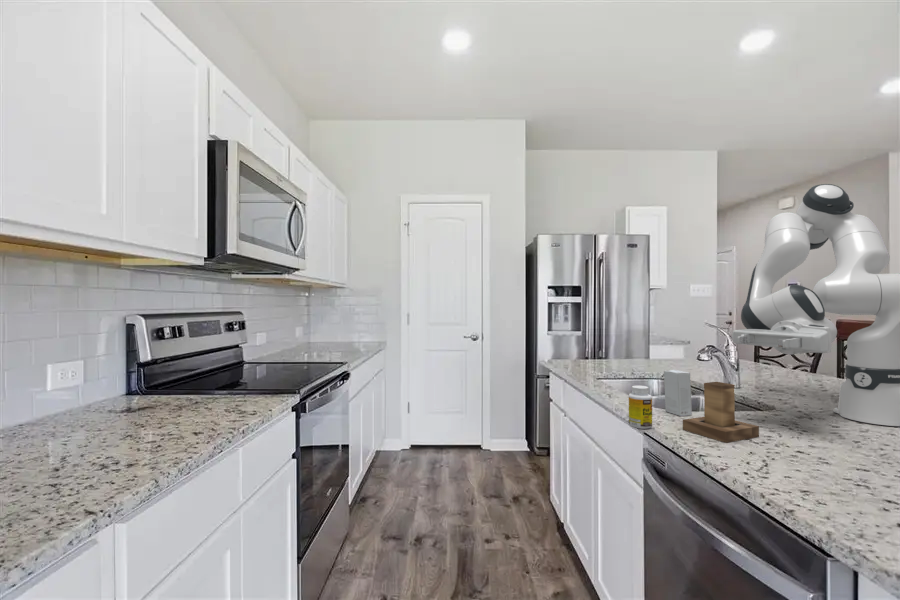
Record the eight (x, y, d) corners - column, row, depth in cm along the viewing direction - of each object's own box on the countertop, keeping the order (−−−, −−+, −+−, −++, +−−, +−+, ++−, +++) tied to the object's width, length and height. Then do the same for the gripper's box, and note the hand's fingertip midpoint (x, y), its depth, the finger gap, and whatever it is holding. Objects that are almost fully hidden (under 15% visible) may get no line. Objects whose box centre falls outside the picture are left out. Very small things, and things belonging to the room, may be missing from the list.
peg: (717, 429, 111) (716, 381, 111) (735, 434, 106) (734, 384, 106) (704, 431, 109) (703, 382, 109) (721, 437, 105) (721, 386, 105)
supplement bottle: (644, 431, 110) (643, 389, 110) (624, 425, 115) (623, 386, 115) (657, 427, 113) (656, 387, 113) (637, 422, 118) (636, 384, 118)
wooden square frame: (714, 424, 115) (714, 415, 115) (759, 436, 104) (758, 426, 105) (682, 429, 111) (682, 419, 111) (725, 442, 100) (725, 431, 100)
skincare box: (692, 415, 124) (692, 372, 124) (678, 416, 123) (678, 373, 123) (676, 410, 130) (676, 369, 130) (663, 411, 129) (663, 369, 130)
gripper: (748, 322, 125) (718, 326, 119) (838, 327, 106) (807, 332, 100) (749, 345, 125) (718, 350, 119) (838, 353, 107) (807, 359, 100)
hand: (760, 341), depth 109 cm, fingers open, 8 cm apart
